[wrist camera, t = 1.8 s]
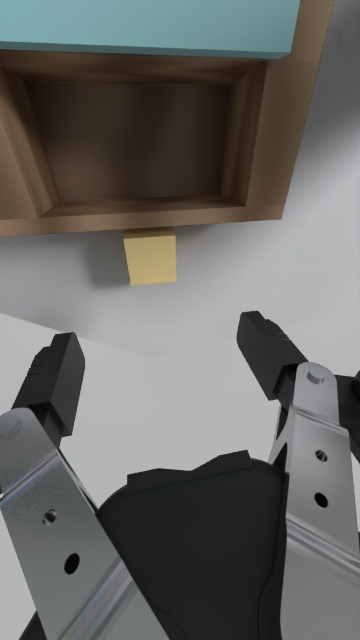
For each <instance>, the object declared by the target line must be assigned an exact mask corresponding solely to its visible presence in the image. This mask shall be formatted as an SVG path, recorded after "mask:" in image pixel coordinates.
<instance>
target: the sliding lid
mask: <svg viewBox="0 0 360 640" xmlns="http://www.w3.org/2000/svg"><path fill="white" fill-rule="evenodd" d="M299 4H300V0H0V49H11V50H39V51H67V52H94V53H122V54H150V55H178V56H205V57H233V58H261V59H281V58H282V57H284V56H286V55H287V54H289V53H290V52H291V47H292V42H293V36H294V31H295V26H296V20H297V15H298V10H299Z"/></svg>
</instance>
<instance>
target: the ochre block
mask: <svg viewBox="0 0 360 640" xmlns="http://www.w3.org/2000/svg"><path fill="white" fill-rule="evenodd" d="M123 240H124V246H125V252H126V258H127V264H128V270H129V277H130V283H131V286H134V285H145V284H155V283H166V282H177V277H176V237H175V234H174V232H173V230H172V228H171V226H166V227H150V228H134V229H124V237H123Z"/></svg>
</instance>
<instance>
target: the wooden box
mask: <svg viewBox="0 0 360 640" xmlns="http://www.w3.org/2000/svg"><path fill="white" fill-rule="evenodd" d="M334 1H335V0H300V4H299V10H298V15H297V20H296V26H295V31H294V36H293V42H292V47H291V52H290V53H289V54H287V55H286V56H284V57H282V58H281V59H261V58H233V57H205V56H178V55H150V54H122V53H94V52H67V51H39V50H11V49H0V237H6V236H22V235H38V234H54V233H70V232H86V231H102V230H118V229H134V228H150V227H166V226H181V225H197V224H213V223H229V222H245V221H261V220H277V219H281V218H282V214H283V210H284V206H285V202H286V197H287V193H288V189H289V185H290V181H291V177H292V173H293V169H294V165H295V161H296V157H297V152H298V148H299V144H300V140H301V136H302V132H303V128H304V124H305V120H306V116H307V111H308V107H309V103H310V99H311V95H312V91H313V87H314V83H315V79H316V75H317V71H318V66H319V62H320V58H321V54H322V50H323V46H324V42H325V38H326V34H327V30H328V25H329V21H330V17H331V13H332V9H333V5H334Z"/></svg>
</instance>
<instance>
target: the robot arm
mask: <svg viewBox="0 0 360 640" xmlns="http://www.w3.org/2000/svg"><path fill="white" fill-rule="evenodd" d="M237 343H238V347H239V349H240V350H241V352H242V354H243V356H244V358H245V359H246V361H247V363H248V364H249V366H250V368H251V370H252V372H253V373H254V375H255V377H256V379H257V380H258V382H259V384H260V386H261V388H262V390H263V391H264V393H265V395H266V397H267V398H268V400H269V401H270V400H276V399H278V400H279V402H280V403H281V404H280V407H279V412H278V418H277V424H276V430H275V436H274V442H273V446H272V450H271V453H270V456H269V460H268V463H267V462H265V461H262V460H258V459H254V458H250V456H249V453H248V451H247V450H243V451H238V452H233V453H229V454H224V455H219V456H217V457H216V458H214V459H212V460H210V461H209V462H207V463H205V464H203V465H201V466H200V467H198V468H196V469H194V470H192V471H185V470H172V469H161V468H157V469H152V470H148V471H143V472H138V473H134V474H129V475H127V484H126V485H125V486H123V487H121V488H120V489H118V490H117V491H116V492H114V493H113V494H112V495H111V496H110V497H109V498H108V499H107V500H106V501H105V502H104V503H103V504H102V505H101V506H100V508H98V507H97V505H96V504H95V502H94V501H93V499H92V497H91V496H90V495H89V493H88V492H87V490H86V489H85V487H84V486H83V484H82V483H81V481H80V479H79V478H78V476H77V475H76V473H75V472H74V470H73V468H72V467H71V465H70V464H69V462H68V461H67V459H66V457H65V456H64V454H63V453H62V451H61V449H60V448H59V446H60V442H61V438H62V437H66V436H71V435H72V431H73V426H74V421H75V416H76V411H77V406H78V401H79V396H80V391H81V385H82V381H83V376H84V370H85V358H84V355H83V352H82V350H81V347H80V344H79V342H78V339H77V336H76V334H75V333H74V332H70V333H61V334H55V336H54V338H53V341H52V343H51V345H50V346H49V347H44V348H43V349H42V350H41V351H40V352H39V353H38V354H37V355H36V356H35V358H34V360H33V362H32V364H31V368H29V371H28V373H27V376H26V377H25V380H24V382H23V384H22V386H21V389H20V391H19V393H18V395H17V398H16V400H15V402H14V404H13V406H12V408H11V410H10V411H8V412H6V413H4V414H2V415H1V416H0V494H2V493H3V495H4V496H3V497H2V498H1V499H0V509H1V512H2V515H3V518H4V520H5V523H6V526H7V529H8V532H9V534H10V537H11V540H12V543H13V546H14V548H15V551H16V554H17V557H18V560H19V562H20V565H21V568H22V570H23V573H24V576H25V579H26V582H27V584H28V587H29V590H30V593H31V596H32V599H33V601H34V604H35V607H36V612H35V613H34V615H33V617H32V619H31V620H30V622H29V624H28V625H27V627H26V629H25V630H24V632H23V633H22V635H21V637H20V638H19V640H360V532H358V528H357V516H356V505H355V494H354V484H353V474H352V462H351V452H352V453H353V455H354V456H355V458H356V459H357V460H358V462H359V463H360V371H359V372H358V373H357V374H356V376H355V377H350V376H341V375H333V374H332V372H331V371H330V370H328V369H327V368H325V367H324V366H322V365H320V364H317V363H312V362H309V361H308V360H307V359H306V358H305V357H304V355H303V354H302V353H301V352H300V351H299V349H298V348H297V347H296V346H295V345H294V344H293V343H292V341H291V340H289V338H288V337H287V335H286V334H284V332H283V331H282V330H281V328H280V327H279V326H278V325H277V324H275V323H274V322H272V321H270V320H269V319H266V320H265V319H264V317H263V316H262V315H261V314H260V312H259V311H249V312H242V313H241V316H240V321H239V326H238V331H237ZM350 450H351V451H350Z"/></svg>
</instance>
